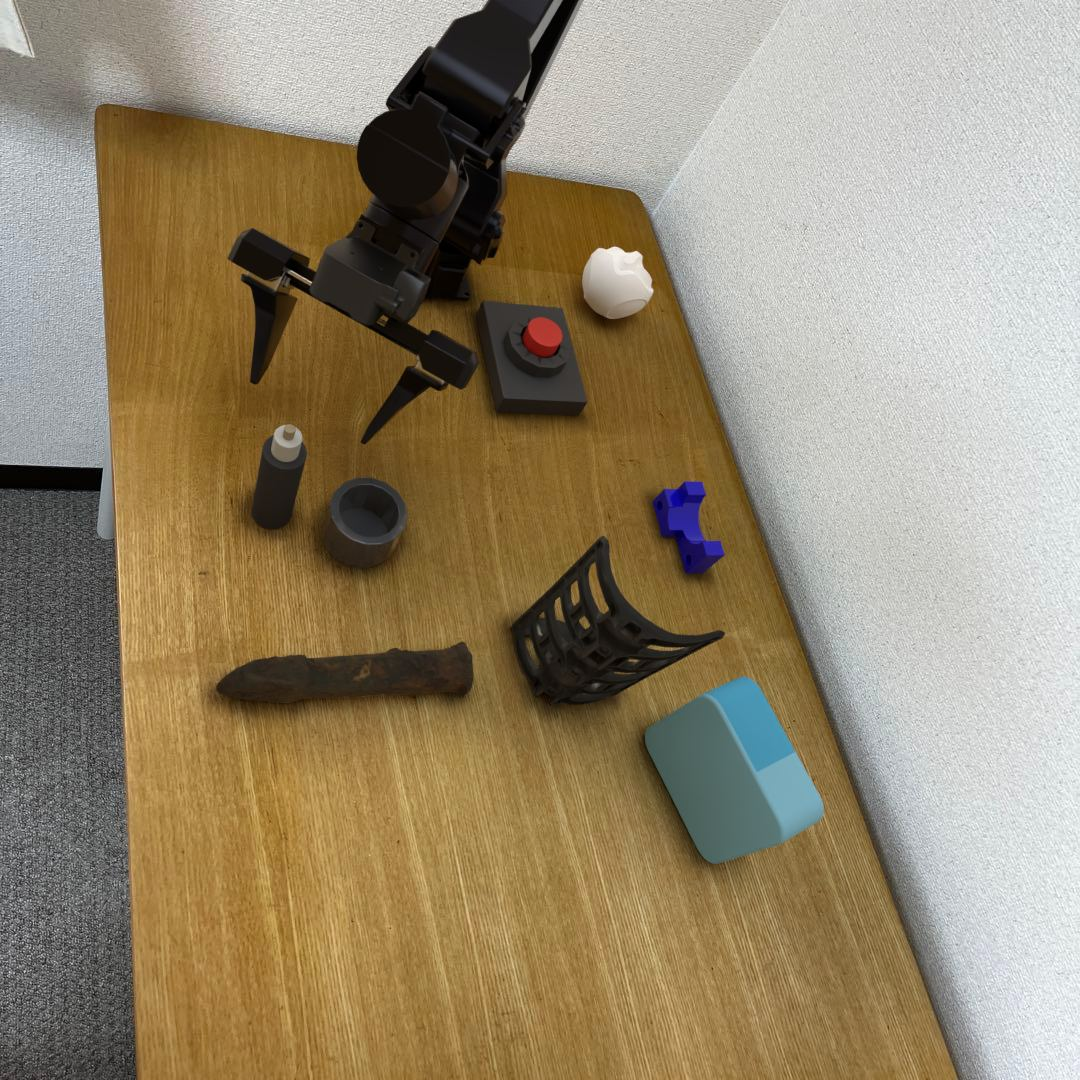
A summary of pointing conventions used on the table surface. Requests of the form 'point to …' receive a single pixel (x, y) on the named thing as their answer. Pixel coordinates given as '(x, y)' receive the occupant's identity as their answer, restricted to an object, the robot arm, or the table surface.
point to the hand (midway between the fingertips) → (308, 413)
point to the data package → (733, 772)
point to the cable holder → (687, 526)
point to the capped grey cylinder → (279, 477)
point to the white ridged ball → (616, 283)
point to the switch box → (528, 362)
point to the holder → (594, 638)
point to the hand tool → (351, 675)
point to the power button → (542, 337)
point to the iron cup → (363, 522)
